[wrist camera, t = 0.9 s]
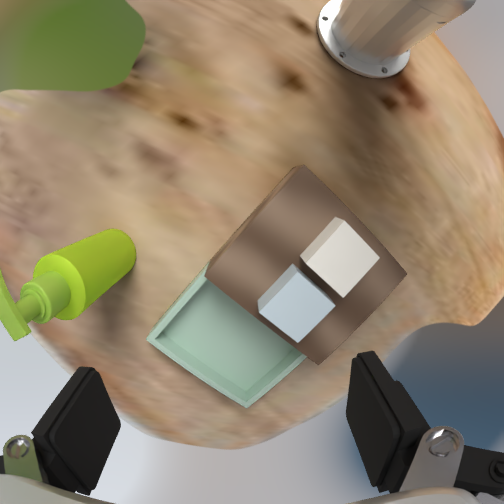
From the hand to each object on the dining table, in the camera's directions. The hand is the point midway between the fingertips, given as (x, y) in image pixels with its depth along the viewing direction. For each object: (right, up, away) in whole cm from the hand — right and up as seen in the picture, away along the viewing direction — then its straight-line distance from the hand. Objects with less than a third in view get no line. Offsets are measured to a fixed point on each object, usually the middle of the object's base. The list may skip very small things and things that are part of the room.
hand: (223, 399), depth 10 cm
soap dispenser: (-16, +6, +24) cm, 30 cm away
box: (-2, -5, +27) cm, 28 cm away
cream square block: (+9, +5, +19) cm, 22 cm away
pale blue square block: (+5, +1, +20) cm, 20 cm away
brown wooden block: (+7, +4, +25) cm, 26 cm away
